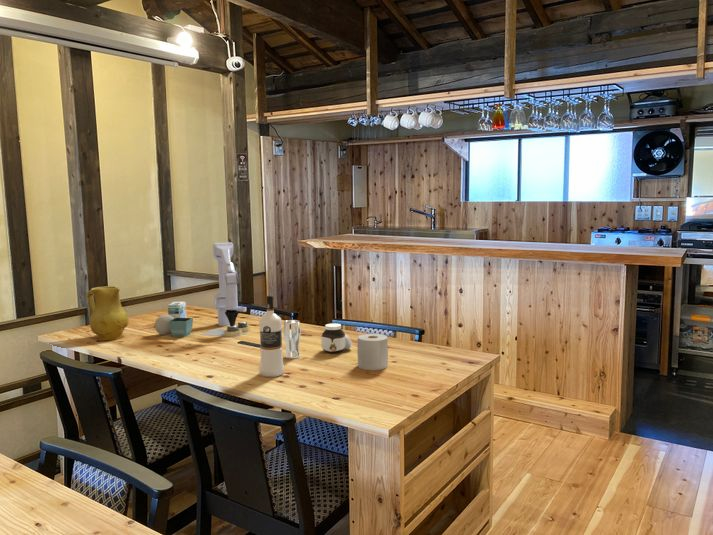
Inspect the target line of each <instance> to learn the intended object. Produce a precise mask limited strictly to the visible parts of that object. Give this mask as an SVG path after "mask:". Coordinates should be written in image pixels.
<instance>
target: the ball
mask: <svg viewBox="0 0 713 535" xmlns="http://www.w3.org/2000/svg"><path fill="white" fill-rule="evenodd" d="M172 319H174V318H173V317H172V316H170V315H168V314H162V315H160V316H158V317H157V319H156V320H155V322H154V329H155V331H156V332H157V334H159V335H161V336H167V335H169V334H171V331H170V326H169V321H170V320H172Z"/></svg>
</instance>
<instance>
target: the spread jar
mask: <svg viewBox="0 0 713 535" xmlns="http://www.w3.org/2000/svg"><path fill="white" fill-rule="evenodd" d="M324 326H325V330H323V332H322V334H321V338H320V339H321V340H320V341H321V342H320V343H321V348H322V350H323V351H324V352H325V354H331V355H332V354H333V355H337V354H341V353H342V352H343V351H344V350H349V349H351V348H352V347H353V340H352V339H351V337H350V336H349V335H348V334H346V333H345V332H344V330H343V329H342V324H341V323H327V324H325V325H324Z"/></svg>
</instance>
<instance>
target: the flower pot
mask: <svg viewBox="0 0 713 535" xmlns="http://www.w3.org/2000/svg"><path fill="white" fill-rule="evenodd" d="M193 322H194V318H193V317H187V318H174V319H172V320H170V321H169V326H170V331H171V333H170V334H171V335H172V337H173V338H186V337H187V336H189V335H191V332H192V329H193V324H194V323H193Z"/></svg>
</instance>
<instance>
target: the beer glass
mask: <svg viewBox="0 0 713 535" xmlns="http://www.w3.org/2000/svg"><path fill="white" fill-rule="evenodd" d="M283 338H284V339H283V340H284V344H285V355H284V357H285V358H286V359H290V360H291V359H298V358H300V356H301V354H300V348H299V347H300V346H299V345H300V339H301V324H300V320H297V319H287V320H285V321H283Z"/></svg>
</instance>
